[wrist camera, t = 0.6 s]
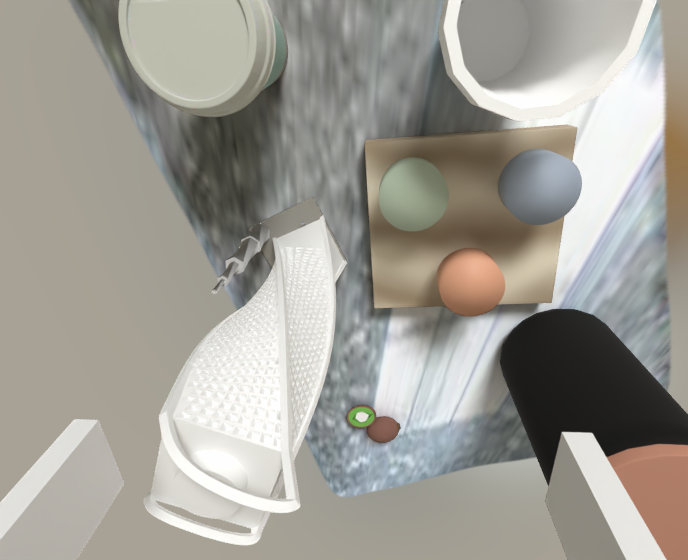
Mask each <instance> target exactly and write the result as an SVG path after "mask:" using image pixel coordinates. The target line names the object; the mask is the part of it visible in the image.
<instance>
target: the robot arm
mask: <svg viewBox="0 0 688 560" xmlns="http://www.w3.org/2000/svg"><path fill="white" fill-rule="evenodd" d="M123 485H124V482H123V479H122V477H121V474H120V472H119V469H118V467H117V464H116V462H115V459H114V457H113V454H112V452H111V449H110V447H109V445H108V442H107V440H106V437H105V434H104V432H103V430H102V427H101V425H100V422H99V420H81V419H74V420H73V422H72V423H71V424H70V425H69V426H68V427H67V428H66V430H65V431H64V432H63V433H62V434H61V435H60V436H59V437H58V438H57V439H56V441H55V442H54V443H53V444H52V445H51V446H50V447H49V448H48V450H47V451H46V452H45V453H44V454H43V455H42V456H41V457H40V459H39V460H38V461H37V462H36V463H35V464H34V465H33V466H32V467H31V469H30V470H29V471H28V472H27V473H26V474H25V475H24V476H23V478H22V479H21V480H20V481H19V482H18V483H17V484H16V485H15V487H14V488H13V489H12V490H11V491H10V492H9V493H8V494H7V496H6V497H5V498H4V499H3V500H2V501H1V502H0V560H77V558H78V557H79V555H80V554H81V552H82V550H83V549H84V547H85V546H86V544H87V542H88V541H89V539H90V538H91V536H92V535H93V533H94V531H95V530H96V528H97V527H98V525H99V523H100V522H101V520H102V519H103V517H104V515H105V514H106V512H107V511H108V509H109V508H110V506H111V504H112V502H113V501H114V499H115V498H116V496H117V495H118V493H119V492H120V490H121V488H122V487H123ZM545 502H546V505H547V507H548V510H549V513H550V515H551V518H552V520H553V523H554V526H555V528H556V531H557V533H558V536H559V539H560V541H561V544H562V547H563V549H564V552H565V554H566V557H567V560H666V558H665V556H664V554H663V553H662V551H661V549H660V548H659V546H658V544H657V542H656V541H655V539H654V537H653V536H652V534H651V532H650V531H649V529H648V527H647V525H646V524H645V522H644V520H643V519H642V517H641V515H640V514H639V512H638V510H637V508H636V507H635V505H634V503H633V502H632V500H631V498H630V497H629V495H628V493H627V491H626V490H625V488H624V486H623V485H622V483H621V481H620V480H619V478H618V476H617V474H616V473H615V471H614V469H613V468H612V466H611V464H610V462H609V461H608V459H607V457H606V456H605V454H604V452H603V451H602V449H601V447H600V445H599V444H598V442H597V440H596V439H595V437H594V435H593V434H592V433H581V432H562V434H561V438H560V442H559V446H558V450H557V454H556V458H555V462H554V466H553V471H552V475H551V479H550V483H549V487H548V491H547V495H546V499H545Z"/></svg>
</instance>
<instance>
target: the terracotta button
mask: <svg viewBox="0 0 688 560" xmlns="http://www.w3.org/2000/svg"><path fill="white" fill-rule="evenodd" d="M437 284H438V287H439V291H440V295H441V298H442V301H443V303H444V304H445V305H446V307H447V308H448V309H450V310H451V311H452V312H454V313H456V314H459V315H462V316H478V315H481V314H484V313H487V312H488V311H490V310H492V309H493V308H494V307H495V306H497V304H498V303H499V302H500V301H501V299H502V297H503V295H504V292H505V279H504V276H503V274H502V272H501V271H500V269H499V267H498V266H497V264H496V263H495V261H494V259H493V258H492V257H491V256H490V255H489V254H488V253H486V252H485V251H483V250H480V249H477V248H463V249H459V250H456V251H454V252H452V253H450V254H449V255H448V256H446V257H445V258H444V259H443V261H442V262H441V263H440V265H439V267H438V270H437Z"/></svg>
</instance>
